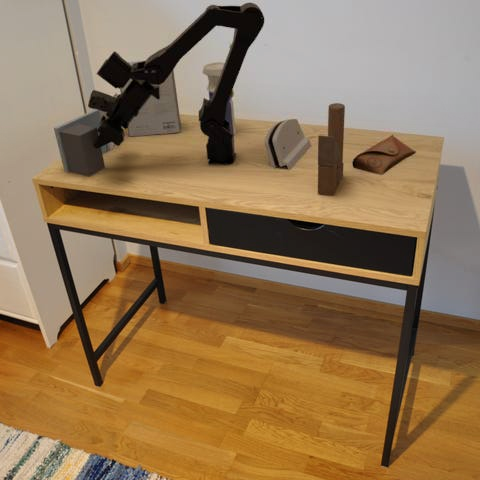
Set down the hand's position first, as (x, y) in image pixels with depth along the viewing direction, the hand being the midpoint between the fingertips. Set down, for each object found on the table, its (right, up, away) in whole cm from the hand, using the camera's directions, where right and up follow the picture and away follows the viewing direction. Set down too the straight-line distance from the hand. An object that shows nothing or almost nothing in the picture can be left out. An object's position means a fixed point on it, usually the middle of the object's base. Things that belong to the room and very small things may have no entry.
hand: (95, 147), depth 141 cm
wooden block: (+58, -11, -11) cm, 60 cm away
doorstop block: (-3, -5, +5) cm, 8 cm away
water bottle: (+32, +8, +21) cm, 39 cm away
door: (-5, -2, +10) cm, 11 cm away
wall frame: (0, +5, +20) cm, 20 cm away
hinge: (+49, -2, +5) cm, 49 cm away
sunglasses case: (+73, -4, 0) cm, 73 cm away
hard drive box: (+11, +9, +26) cm, 30 cm away
